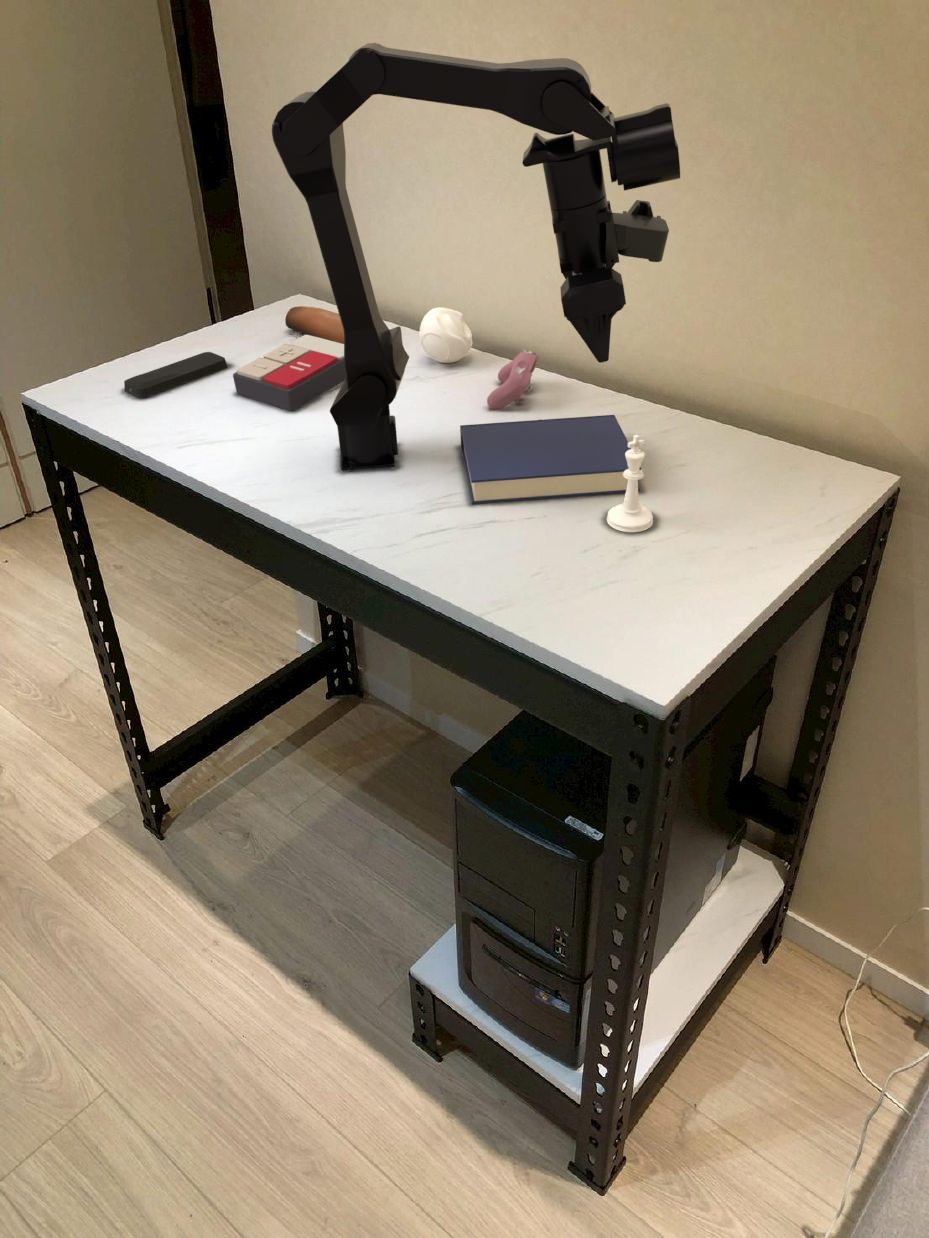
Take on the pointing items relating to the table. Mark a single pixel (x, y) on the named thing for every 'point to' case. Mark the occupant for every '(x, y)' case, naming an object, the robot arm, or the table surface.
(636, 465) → the chess piece
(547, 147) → the robot arm
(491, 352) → the table surface
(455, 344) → the white ball
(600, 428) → the blue book
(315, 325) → the sunglasses case
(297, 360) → the calculator
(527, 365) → the video game controller
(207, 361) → the remote control
